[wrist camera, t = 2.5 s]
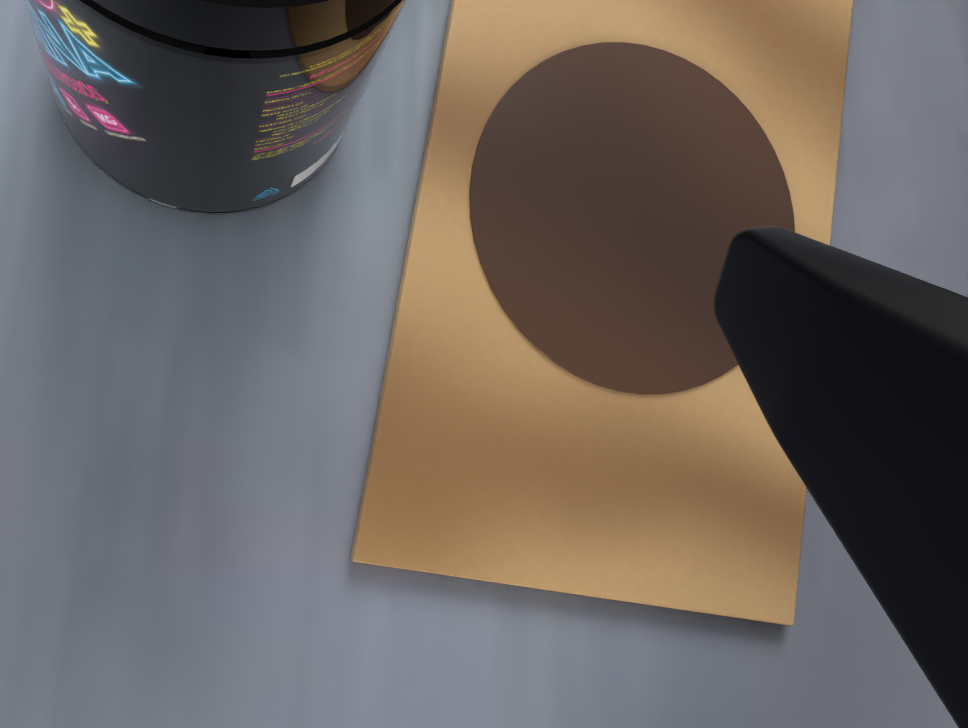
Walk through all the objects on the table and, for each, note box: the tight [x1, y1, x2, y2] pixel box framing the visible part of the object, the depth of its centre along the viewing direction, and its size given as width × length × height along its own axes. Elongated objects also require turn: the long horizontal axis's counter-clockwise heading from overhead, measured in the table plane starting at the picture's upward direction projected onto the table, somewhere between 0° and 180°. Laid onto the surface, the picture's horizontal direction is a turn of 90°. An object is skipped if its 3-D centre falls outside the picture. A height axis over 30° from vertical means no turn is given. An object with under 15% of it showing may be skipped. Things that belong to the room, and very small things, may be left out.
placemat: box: [351, 0, 853, 626], centre depth 25 cm, size 20×12×1 cm, turn 171°
